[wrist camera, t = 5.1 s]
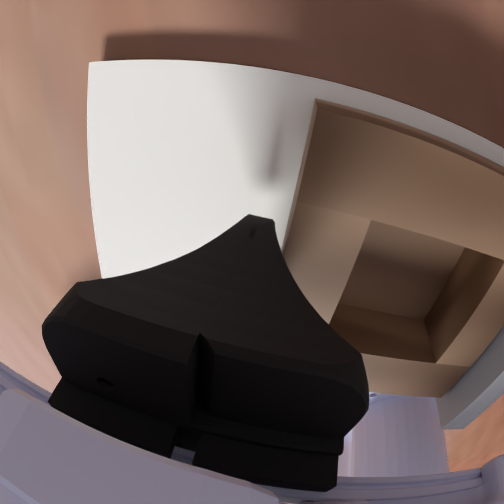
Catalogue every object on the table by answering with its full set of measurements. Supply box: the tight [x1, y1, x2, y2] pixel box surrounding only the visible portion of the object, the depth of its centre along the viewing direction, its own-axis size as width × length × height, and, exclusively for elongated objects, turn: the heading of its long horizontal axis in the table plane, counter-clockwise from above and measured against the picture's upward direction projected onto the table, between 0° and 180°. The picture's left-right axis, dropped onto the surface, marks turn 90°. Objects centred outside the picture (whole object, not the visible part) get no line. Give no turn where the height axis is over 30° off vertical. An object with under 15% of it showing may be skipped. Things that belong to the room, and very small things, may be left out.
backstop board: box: [87, 60, 504, 429], centre depth 10 cm, size 11×20×6 cm, turn 82°
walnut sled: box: [281, 98, 504, 398], centre depth 10 cm, size 10×9×4 cm
